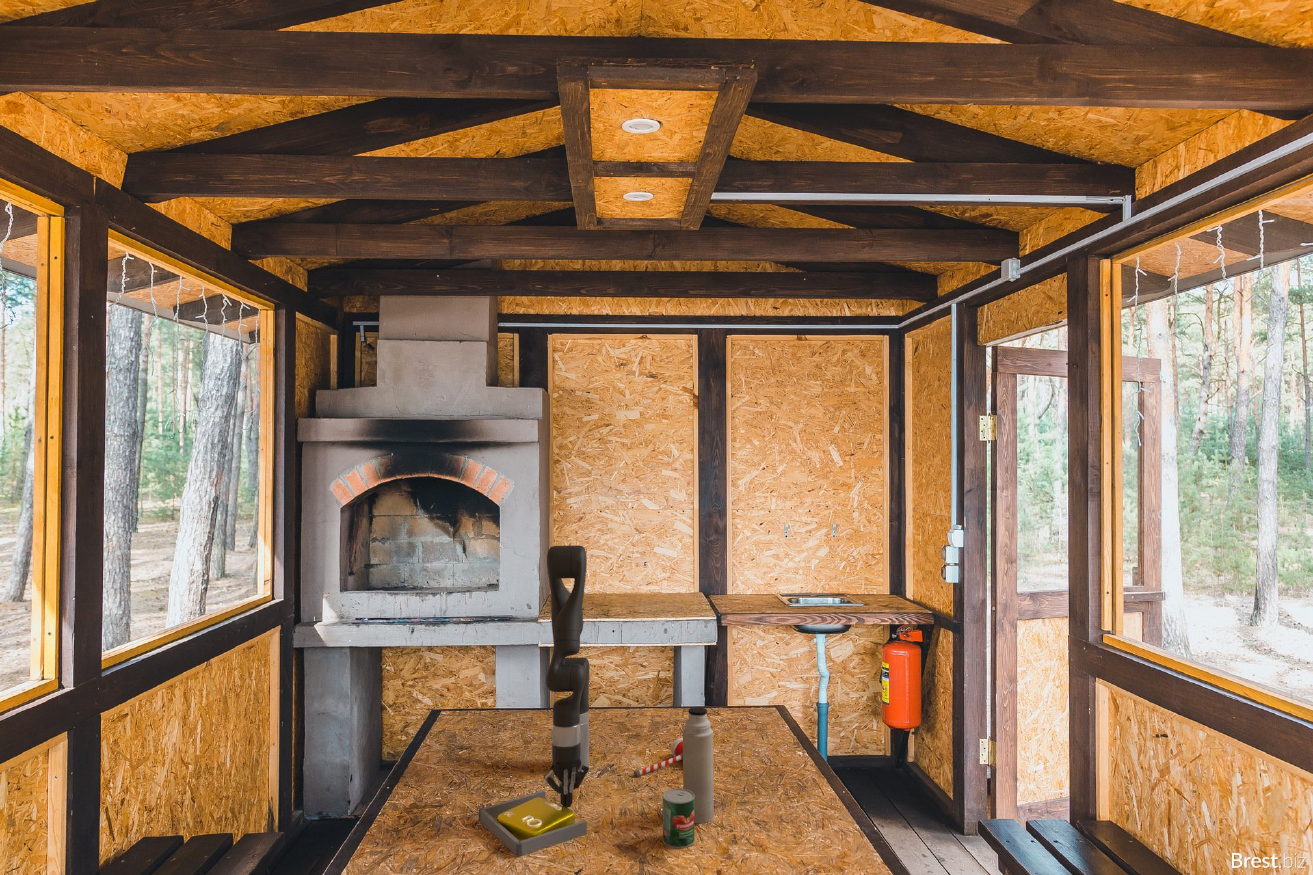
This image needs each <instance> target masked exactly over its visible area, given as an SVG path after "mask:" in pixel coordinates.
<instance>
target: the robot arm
mask: <svg viewBox="0 0 1313 875" xmlns="http://www.w3.org/2000/svg"><path fill="white" fill-rule="evenodd" d="M587 557H588V556H587V551H586V548H585V547H584V545H572V544H571V545H553V546H550V547H549V548H548V551H547V554H546V569H547V575H548V582H549V591H550V592H549V593H550V610H551V611H550V613H551V614H550V615H551V618H550V619H551V631H552V632H551V633H552V640H553V651H552V655H551V659H550V663H549V666H548V670H547V672H546V676H545V684H546V687H547V689H548V690H549V691H550V692H552V693H562V692H563V693H564V692H565V693H569V692H571V695H570V696H567V697H565V698H561V699H558V700H555V702H554V703H553V706H552V730H551V735H552V736H551V758H552V759H551V760H552V764H551V765H550V771H549V772H548V774H544V775H543V780H544V781H545V782H546V783H547V785H549V786H550V787H551V789H552V790H553V791H555V792H556V793H557V794H559V795H560V805H561V806H563V807H566V808H568V809H569V808H571V806H572V804H573V803H574V802H573V800H574V799H573V796H574V795H573V794H574V793H573V792H574V791H575V790H577V789H579V788H580V786H581V785H582V783H583V781H584V779H585V778H586V775H588V774H587V773H589V769H590V705H589V704H590V702H589V697H590V696H589V692H590V672H591V670H590V668H591V667H590V662H589V660H588V658H587V657H581V656H580V657H570V656H575V655H578V654H579V653H580V649H581V635H582V632H583V630H584V612H583V603H584V595H585V586H586V579H587V578H586V576H587V567H588V565H587V564H588V562H587V561H588V560H587ZM565 579H574V581H573V587H572V590H571V592H570V591H569V589H567V587H566V586H565V584H564V582H563V580H565ZM556 778H557V782H558V784H557V783H556V780H555V779H556Z"/></svg>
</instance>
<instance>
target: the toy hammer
mask: <svg viewBox="0 0 1313 875" xmlns="http://www.w3.org/2000/svg"><path fill="white" fill-rule="evenodd" d="M670 749H671V755H672V757H671V758H669V759H666V760H663V761H661V762H658V763H656V764H653V765H650V766H648V767H645V768H642V769H640V770H639V769H637V770H635V771H633V775H634V777H635V778H640V777H641V776H642V775H645V774H648V773H649V772H653V771H656V770H658V769H660V768H663V767H665V766H668V765H672V764H673V763H676V762H679V761H683V737H680V738H679V737H678V738H677V739H675V740H674V741H673V743H672V745H671V748H670Z"/></svg>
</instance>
